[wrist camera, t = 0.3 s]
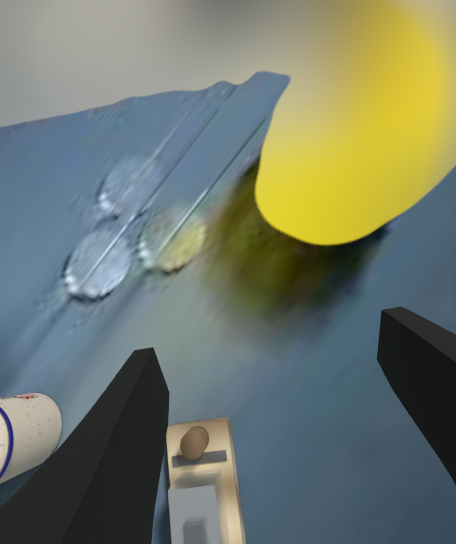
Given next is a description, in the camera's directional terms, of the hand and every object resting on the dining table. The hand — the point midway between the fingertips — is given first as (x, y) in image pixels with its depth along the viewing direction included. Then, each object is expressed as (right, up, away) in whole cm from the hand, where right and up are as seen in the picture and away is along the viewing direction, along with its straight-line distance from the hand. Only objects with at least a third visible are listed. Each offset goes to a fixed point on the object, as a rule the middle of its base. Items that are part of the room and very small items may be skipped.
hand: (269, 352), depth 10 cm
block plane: (-4, -22, +25) cm, 34 cm away
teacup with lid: (-27, -18, +29) cm, 44 cm away
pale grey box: (-4, -22, +22) cm, 32 cm away
